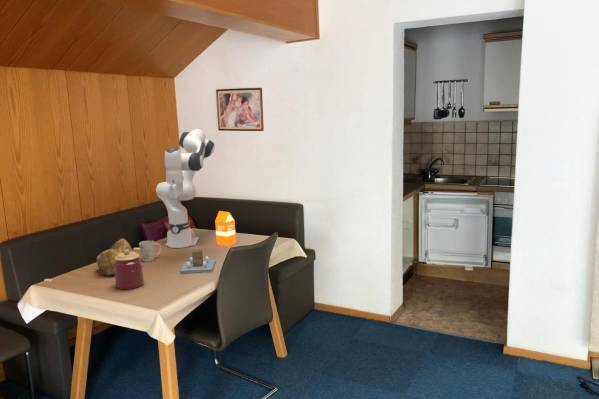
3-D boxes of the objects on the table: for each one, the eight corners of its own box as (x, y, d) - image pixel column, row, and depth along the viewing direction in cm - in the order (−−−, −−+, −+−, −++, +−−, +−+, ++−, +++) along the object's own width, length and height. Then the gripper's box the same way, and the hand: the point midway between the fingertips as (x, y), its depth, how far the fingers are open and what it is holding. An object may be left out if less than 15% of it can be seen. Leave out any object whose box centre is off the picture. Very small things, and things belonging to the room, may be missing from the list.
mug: (137, 260, 281) (136, 243, 279) (157, 255, 290) (156, 238, 288) (145, 263, 275) (144, 245, 273) (165, 257, 284) (164, 240, 282)
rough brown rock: (110, 264, 279) (105, 238, 276) (138, 262, 276) (133, 235, 273) (87, 280, 256) (81, 252, 253) (117, 277, 253) (111, 249, 250)
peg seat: (185, 263, 271) (185, 255, 270) (215, 262, 272) (215, 254, 271) (180, 273, 255) (179, 265, 255) (212, 272, 256) (211, 263, 255)
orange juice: (225, 241, 314) (223, 209, 310) (236, 243, 309) (234, 211, 305) (216, 244, 307) (214, 212, 304) (227, 246, 302) (225, 213, 299)
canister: (144, 287, 237) (140, 251, 234) (115, 291, 234) (110, 254, 231) (144, 279, 250) (140, 244, 246) (116, 282, 246) (112, 247, 243)
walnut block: (194, 264, 265) (193, 249, 264) (203, 263, 266) (202, 248, 264) (193, 266, 261) (191, 251, 259) (201, 266, 261) (200, 251, 260)
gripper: (176, 181, 260) (179, 208, 262) (184, 176, 280) (186, 200, 282) (164, 182, 259) (166, 208, 262) (172, 176, 280) (174, 201, 282)
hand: (176, 204), depth 272 cm, fingers open, 8 cm apart
